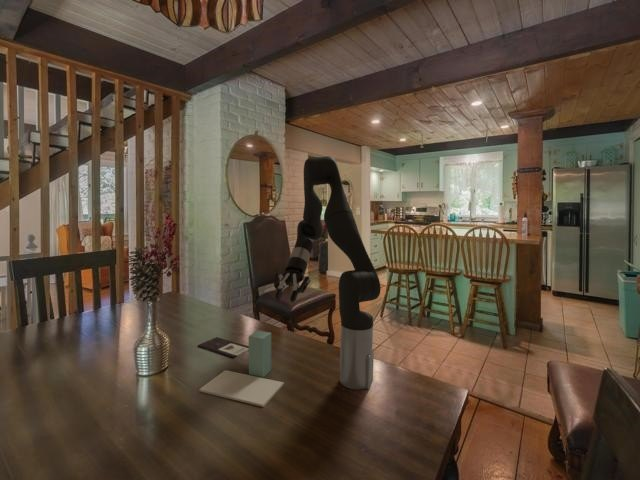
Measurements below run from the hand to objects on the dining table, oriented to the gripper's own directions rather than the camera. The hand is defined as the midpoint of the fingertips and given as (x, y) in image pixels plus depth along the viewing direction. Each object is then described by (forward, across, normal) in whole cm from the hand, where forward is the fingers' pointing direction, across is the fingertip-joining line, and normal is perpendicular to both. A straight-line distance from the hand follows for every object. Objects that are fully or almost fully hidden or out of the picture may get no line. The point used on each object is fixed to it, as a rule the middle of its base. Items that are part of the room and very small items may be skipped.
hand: (284, 300), depth 116 cm
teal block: (+25, 0, +1) cm, 25 cm away
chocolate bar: (+18, -21, +9) cm, 29 cm away
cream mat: (+32, 0, -6) cm, 32 cm away
